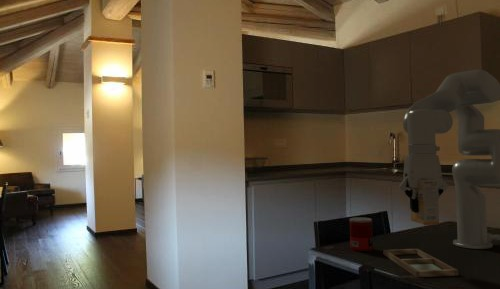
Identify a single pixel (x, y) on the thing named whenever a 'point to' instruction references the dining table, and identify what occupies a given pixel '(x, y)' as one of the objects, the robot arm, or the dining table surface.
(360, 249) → the canned food
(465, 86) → the robot arm
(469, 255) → the dining table surface
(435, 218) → the supplement box
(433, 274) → the wooden divided tray
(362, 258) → the dining table surface
